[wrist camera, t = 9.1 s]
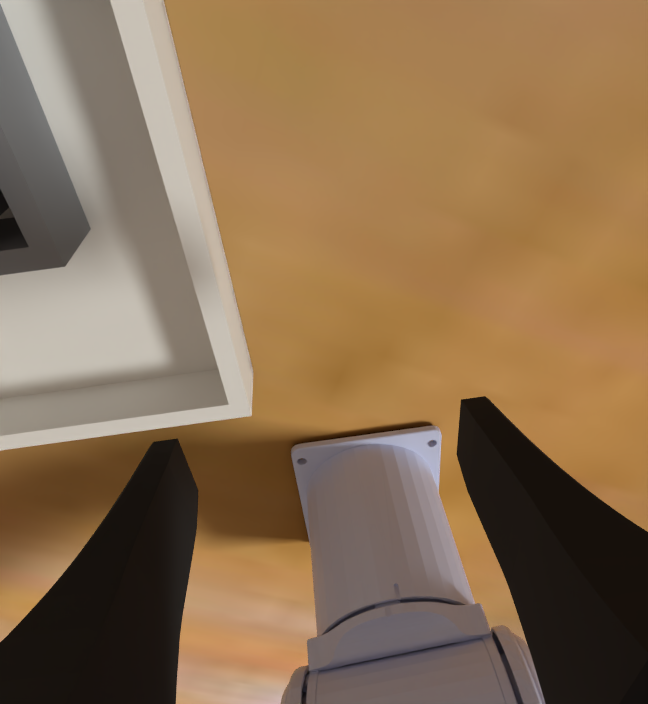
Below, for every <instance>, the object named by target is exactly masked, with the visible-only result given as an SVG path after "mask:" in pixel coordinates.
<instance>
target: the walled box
mask: <svg viewBox="0 0 648 704" xmlns="http://www.w3.org/2000/svg"><path fill="white" fill-rule="evenodd" d="M0 189H1V191H2V193H3V195H4V197H5V199H6V201H7V203H8V205H9V208H8V209H7V210H6V211H5V212H4V213H3V214H2V215H0V450H7V449H14V448H21V447H29V446H36V445H43V444H51V443H58V442H65V441H72V440H80V439H87V438H94V437H101V436H109V435H116V434H123V433H131V432H138V431H145V430H152V429H160V428H167V427H174V426H182V425H189V424H196V423H203V422H211V421H218V420H225V419H233V418H240V417H247V416H252V392H253V369H252V364H251V360H250V356H249V352H248V348H247V344H246V340H245V335H244V331H243V327H242V323H241V319H240V315H239V311H238V306H237V302H236V298H235V294H234V290H233V286H232V282H231V277H230V273H229V269H228V265H227V261H226V257H225V253H224V248H223V244H222V240H221V236H220V232H219V228H218V224H217V219H216V215H215V211H214V207H213V203H212V199H211V195H210V190H209V186H208V182H207V178H206V174H205V170H204V166H203V161H202V157H201V153H200V149H199V145H198V141H197V137H196V132H195V128H194V124H193V120H192V116H191V112H190V108H189V104H188V99H187V95H186V91H185V87H184V83H183V79H182V75H181V70H180V66H179V62H178V58H177V54H176V50H175V46H174V41H173V37H172V33H171V29H170V25H169V21H168V17H167V12H166V8H165V4H164V0H0Z"/></svg>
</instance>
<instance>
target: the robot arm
mask: <svg viewBox="0 0 648 704" xmlns="http://www.w3.org/2000/svg"><path fill="white" fill-rule="evenodd" d="M431 440H433V441H431ZM429 441H430V442H429ZM440 454H441V432H440V429H439V428H438V427H437V426H425V427H418V428H410V429H403V430H396V431H389V432H381V433H374V434H367V435H360V436H352V437H345V438H338V439H331V440H324V441H316V442H309V443H302V444H297V445H295V446H293V447H292V449H291V457H292V462H293V467H294V471H295V476H296V481H297V486H298V490H299V495H300V500H301V505H302V509H303V514H304V519H305V524H306V528H307V533H308V538H309V543H310V547H311V558H312V572H313V585H314V598H315V612H316V625H317V637H315V638H311V639H308V640H307V649H308V665H307V666H303V667H299V668H298V669H296V670H295V671H294V673H293V674H292V676H291V679H290V682H289V684H288V685H287V687H286V689H285V691H284V693H283V696H282V700H281V704H648V532H647V531H645V530H644V529H642V528H641V527H639V526H637V525H636V524H634V523H633V522H631V521H630V520H628V519H627V518H626V517H624V516H623V515H621V514H620V513H618V512H617V511H615V510H614V509H613V508H611V507H610V506H608V505H607V504H606V503H604V502H603V501H602V500H600V499H599V498H598V497H596V496H595V495H594V494H592V493H591V492H590V491H588V490H587V489H586V488H585V487H583V486H582V485H581V484H579V483H578V482H577V481H576V480H575V479H573V478H572V477H571V476H570V475H569V474H567V473H566V472H565V471H564V470H563V469H561V468H560V467H559V466H558V465H557V464H556V463H554V462H553V461H552V460H551V459H550V458H549V457H548V456H547V455H545V454H544V453H543V452H542V451H541V450H540V449H539V448H538V447H537V446H536V445H534V444H533V443H532V442H531V441H530V440H529V439H528V438H527V437H526V436H525V435H524V434H523V433H522V432H521V431H520V430H519V429H518V428H517V427H516V426H515V425H514V424H513V423H512V422H511V421H510V420H509V419H508V418H507V417H506V416H505V415H504V414H503V413H502V412H501V411H500V410H499V409H498V408H497V407H496V406H495V405H494V404H493V403H492V402H491V401H490V400H489V399H488V398H486V397H477V398H470V399H463V400H461V408H460V420H459V433H458V445H457V457H458V460H459V464H460V467H461V471H462V474H463V477H464V481H465V484H466V487H467V490H468V493H469V495H470V498H471V500H472V502H473V505H474V507H475V509H476V512H477V514H478V516H479V518H480V521H481V523H482V525H483V528H484V530H485V532H486V534H487V537H488V539H489V541H490V543H491V546H492V548H493V550H494V553H495V555H496V557H497V559H498V562H499V564H500V566H501V569H502V571H503V573H504V576H505V578H506V581H507V584H508V586H509V589H510V592H511V595H512V598H513V601H514V604H515V607H516V610H517V613H518V616H519V619H520V622H521V625H522V628H523V631H524V634H525V638H526V641H527V644H528V646H527V644H526V643H525V641H524V640H523V639H521V638H520V637H518V636H517V635H515V634H514V633H512V632H511V631H510V630H509V628H507V627H506V626H503V625H501V626H496V627H492V629H491V631H490V628H489V625H488V622H487V619H486V616H485V613H484V610H483V607H482V605H481V604H479V603H477V604H475V602H474V599H473V596H472V593H471V590H470V587H469V584H468V581H467V578H466V575H465V571H464V568H463V565H462V562H461V559H460V556H459V553H458V550H457V547H456V544H455V541H454V538H453V535H452V532H451V529H450V526H449V523H448V520H447V517H446V514H445V511H444V508H443V505H442V502H441V498H440V495H439V474H440ZM301 458H304V459H301ZM197 512H198V489H197V486H196V484H195V481H194V479H193V476H192V474H191V471H190V469H189V466H188V463H187V461H186V458H185V456H184V453H183V451H182V448H181V446H180V443H179V441H178V439H172V440H165V441H158V442H153V443H152V445H151V446H150V448H149V449H148V451H147V452H146V454H145V456H144V457H143V459H142V461H141V462H140V464H139V466H138V467H137V469H136V471H135V472H134V474H133V475H132V477H131V479H130V480H129V482H128V483H127V485H126V487H125V488H124V490H123V491H122V493H121V494H120V496H119V497H118V499H117V501H116V502H115V504H114V505H113V507H112V508H111V510H110V511H109V513H108V514H107V516H106V517H105V519H104V520H103V521H102V523H101V524H100V526H99V527H98V528H97V530H96V531H95V533H94V534H93V535H92V537H91V538H90V539H89V541H88V542H87V544H86V545H85V546H84V548H83V549H82V550H81V552H80V553H79V554H78V556H77V557H76V558H75V560H74V561H73V562H72V563H71V565H70V566H69V567H68V568H67V570H66V571H65V572H64V573H63V575H62V576H61V577H60V578H59V579H58V581H57V582H56V583H55V584H54V585H53V586H52V588H51V589H50V590H49V591H48V592H47V593H46V595H45V596H44V597H43V598H42V599H41V600H40V601H39V602H38V603H37V605H36V606H35V607H34V608H33V609H32V610H31V611H30V612H29V613H28V614H27V616H26V617H25V618H24V619H23V620H22V621H21V622H20V623H19V624H18V625H17V626H16V627H15V628H14V629H13V630H12V631H11V632H10V633H9V635H8V636H7V637H6V638H5V639H3V640H2V641H1V642H0V704H176V685H177V668H178V654H179V640H180V630H181V622H182V615H183V609H184V603H185V597H186V591H187V585H188V579H189V573H190V567H191V561H192V555H193V549H194V542H195V536H196V530H197Z"/></svg>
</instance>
